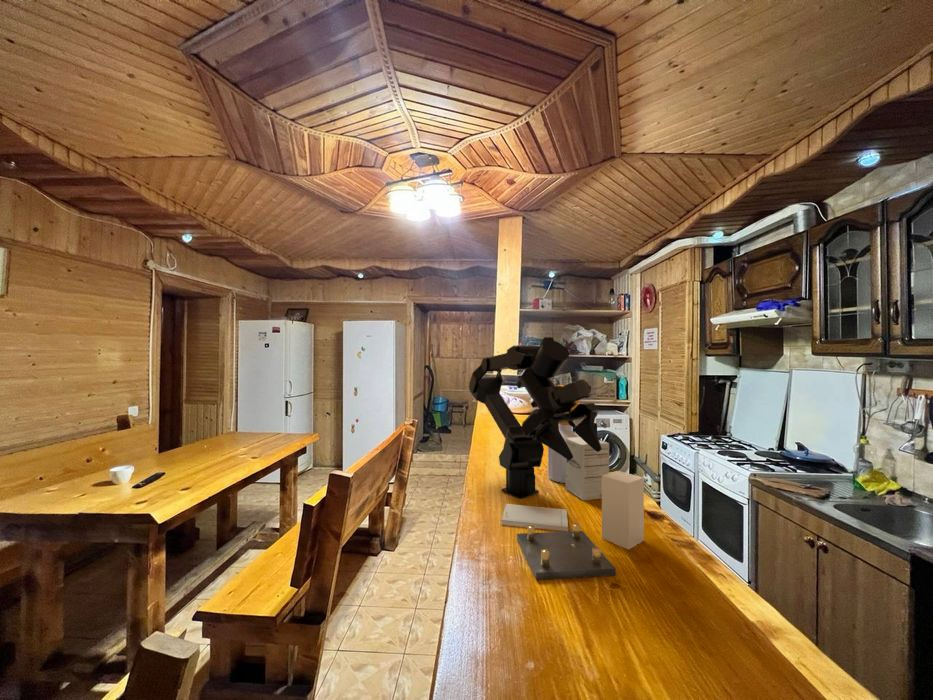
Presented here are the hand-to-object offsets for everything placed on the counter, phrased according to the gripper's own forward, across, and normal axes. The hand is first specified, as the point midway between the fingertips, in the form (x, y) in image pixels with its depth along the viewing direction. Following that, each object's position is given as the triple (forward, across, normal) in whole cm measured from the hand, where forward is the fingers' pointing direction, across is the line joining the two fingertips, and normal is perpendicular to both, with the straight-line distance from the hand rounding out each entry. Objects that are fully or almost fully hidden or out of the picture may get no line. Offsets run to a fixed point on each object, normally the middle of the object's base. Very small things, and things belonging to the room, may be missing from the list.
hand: (586, 454), depth 72 cm
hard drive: (+5, -6, +15) cm, 17 cm away
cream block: (+15, 0, +4) cm, 15 cm away
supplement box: (+4, +14, +16) cm, 22 cm away
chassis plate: (+13, -13, +6) cm, 19 cm away
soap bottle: (-3, +19, +24) cm, 30 cm away
